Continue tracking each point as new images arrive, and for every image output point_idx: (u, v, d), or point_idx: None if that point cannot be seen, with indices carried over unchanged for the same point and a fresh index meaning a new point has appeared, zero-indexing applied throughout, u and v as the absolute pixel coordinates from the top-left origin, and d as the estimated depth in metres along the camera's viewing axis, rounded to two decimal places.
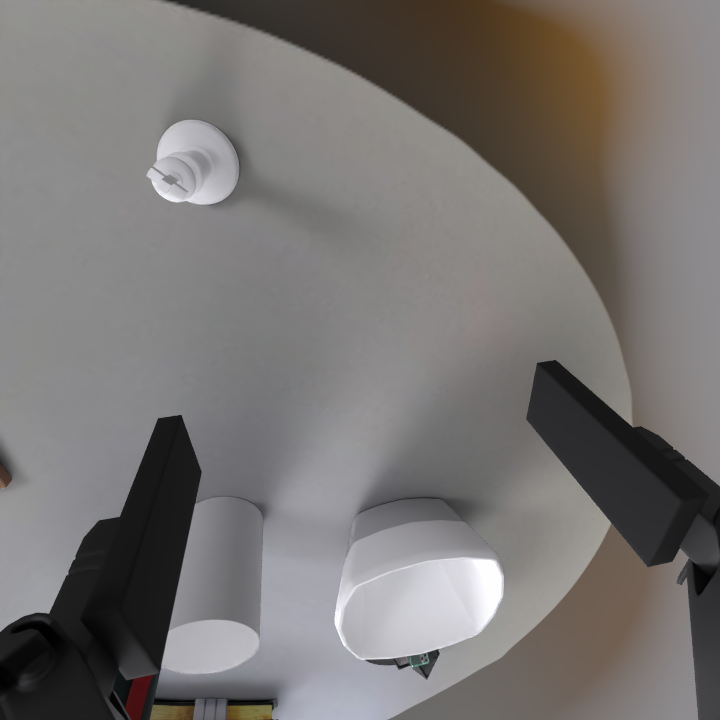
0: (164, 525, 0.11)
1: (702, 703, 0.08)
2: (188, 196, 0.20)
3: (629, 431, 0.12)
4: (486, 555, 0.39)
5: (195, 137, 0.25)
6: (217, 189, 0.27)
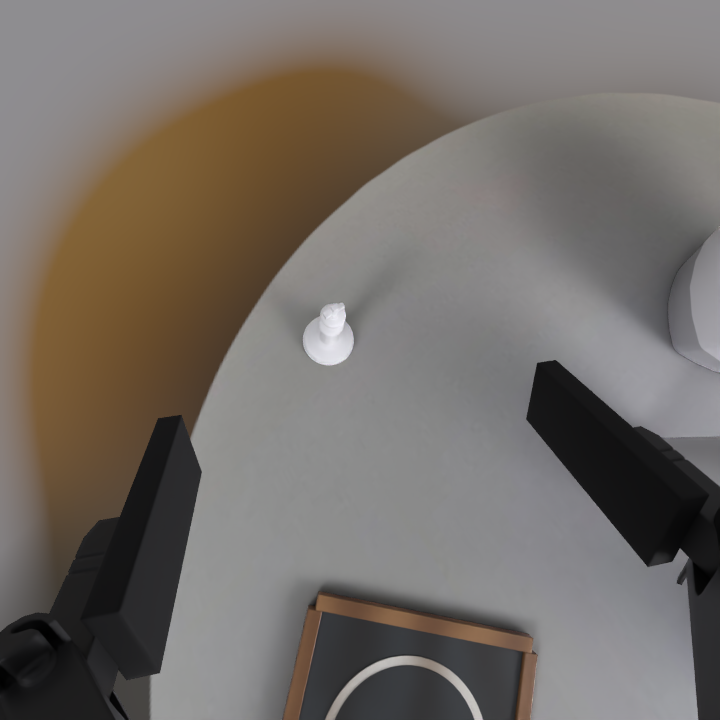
0: (164, 525, 0.11)
1: (702, 703, 0.08)
2: (344, 311, 0.32)
3: (629, 431, 0.12)
4: None
5: (313, 330, 0.39)
6: (346, 332, 0.39)
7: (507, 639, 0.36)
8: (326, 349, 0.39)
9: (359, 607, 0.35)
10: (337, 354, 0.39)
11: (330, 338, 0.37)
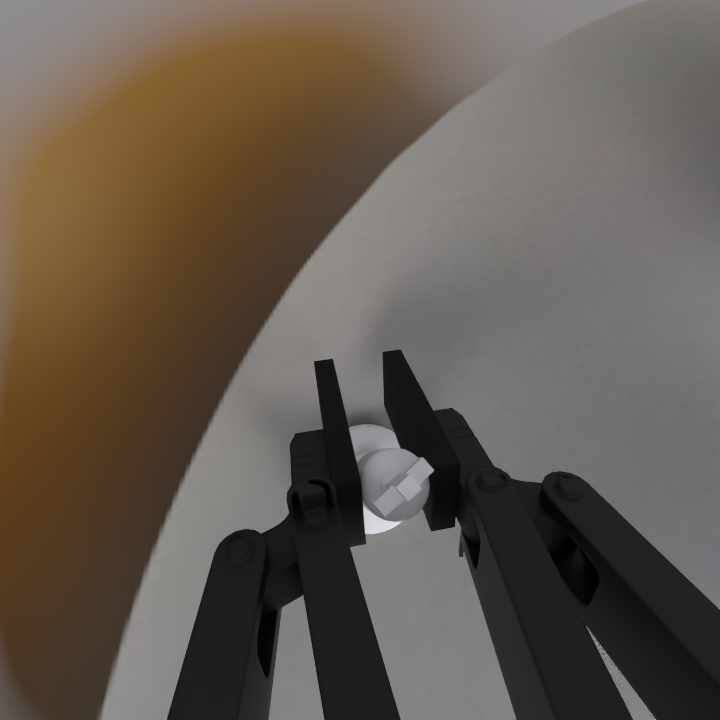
0: None
1: (506, 677, 0.09)
2: None
3: (426, 411, 0.13)
4: None
5: None
6: None
7: None
8: None
9: None
10: None
11: None
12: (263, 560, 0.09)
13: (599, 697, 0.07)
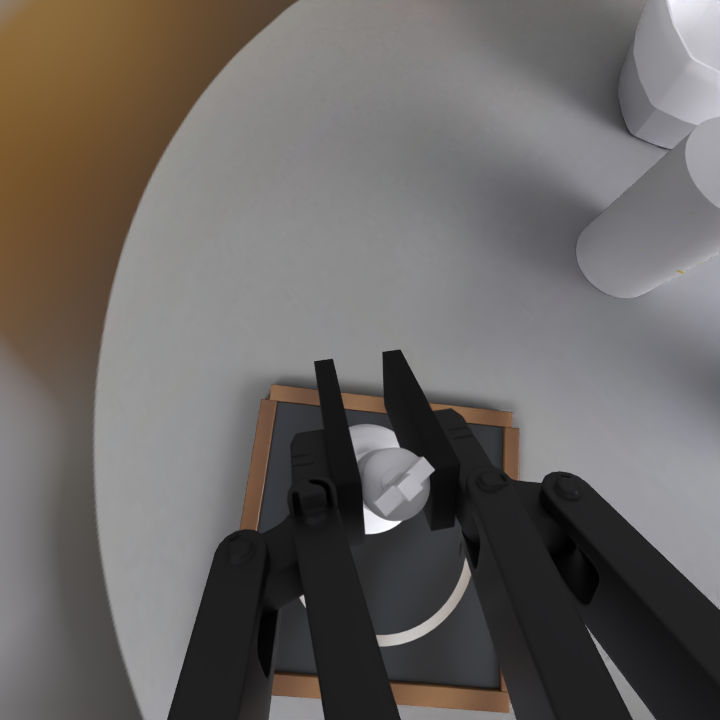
0: None
1: (506, 677, 0.09)
2: None
3: (426, 411, 0.13)
4: None
5: None
6: None
7: (483, 415, 0.33)
8: None
9: (317, 394, 0.32)
10: None
11: None
12: (263, 560, 0.09)
13: (599, 697, 0.07)
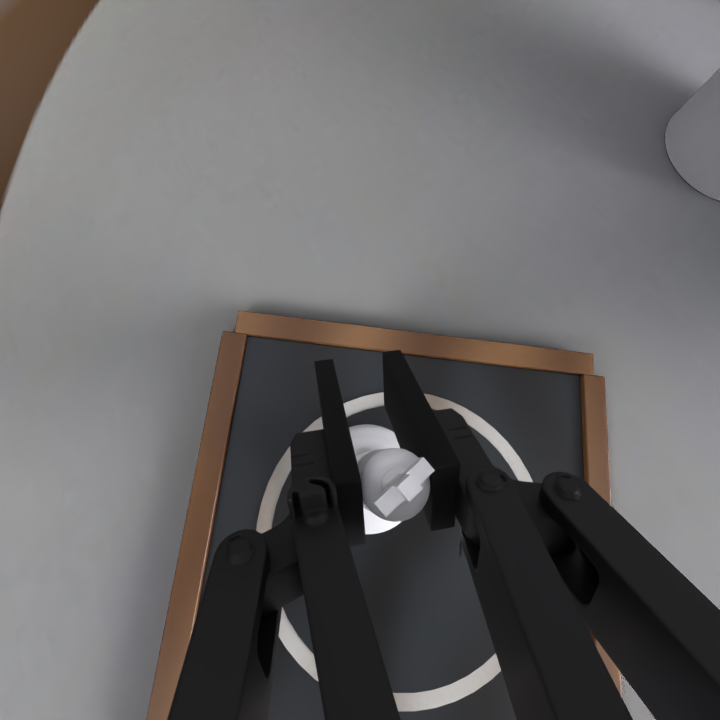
0: None
1: (506, 677, 0.09)
2: None
3: (426, 411, 0.13)
4: None
5: None
6: None
7: (551, 357, 0.22)
8: None
9: (306, 325, 0.22)
10: None
11: None
12: (263, 560, 0.09)
13: (599, 697, 0.07)
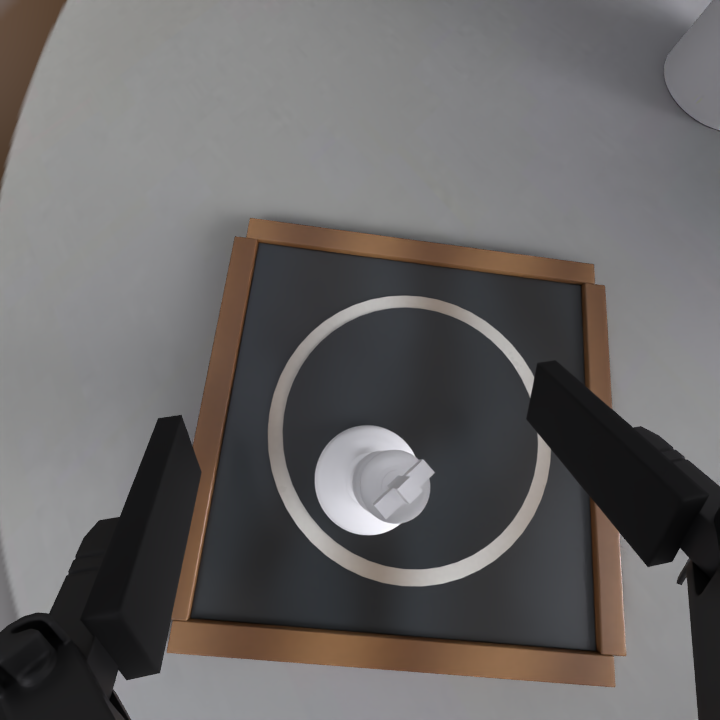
0: (164, 525, 0.11)
1: (702, 703, 0.08)
2: None
3: (629, 431, 0.12)
4: None
5: (336, 468, 0.18)
6: None
7: (554, 267, 0.23)
8: None
9: (316, 232, 0.22)
10: None
11: None
12: None
13: None
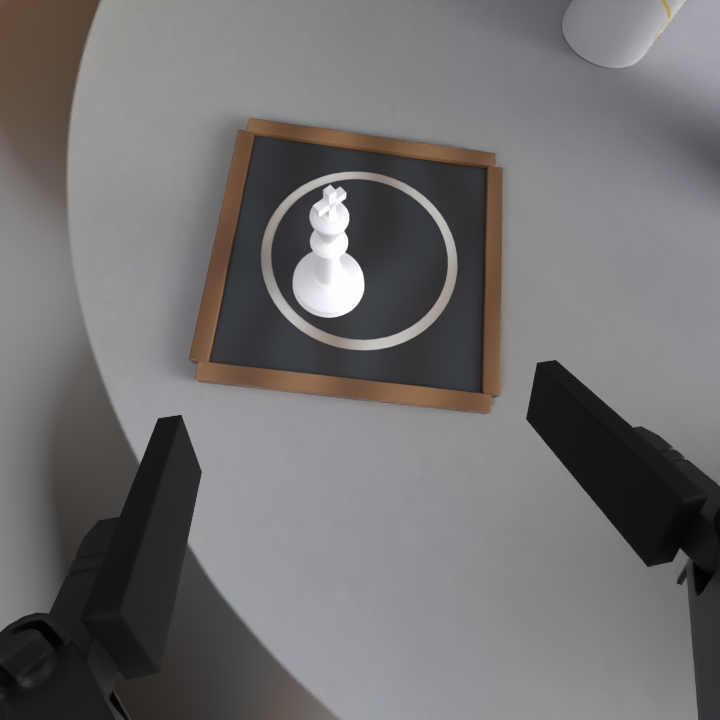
0: (164, 525, 0.11)
1: (702, 703, 0.08)
2: (345, 208, 0.21)
3: (629, 431, 0.12)
4: None
5: (306, 270, 0.28)
6: (352, 268, 0.28)
7: (466, 154, 0.32)
8: (327, 293, 0.27)
9: (295, 128, 0.31)
10: (343, 298, 0.27)
11: (330, 270, 0.25)
12: None
13: None
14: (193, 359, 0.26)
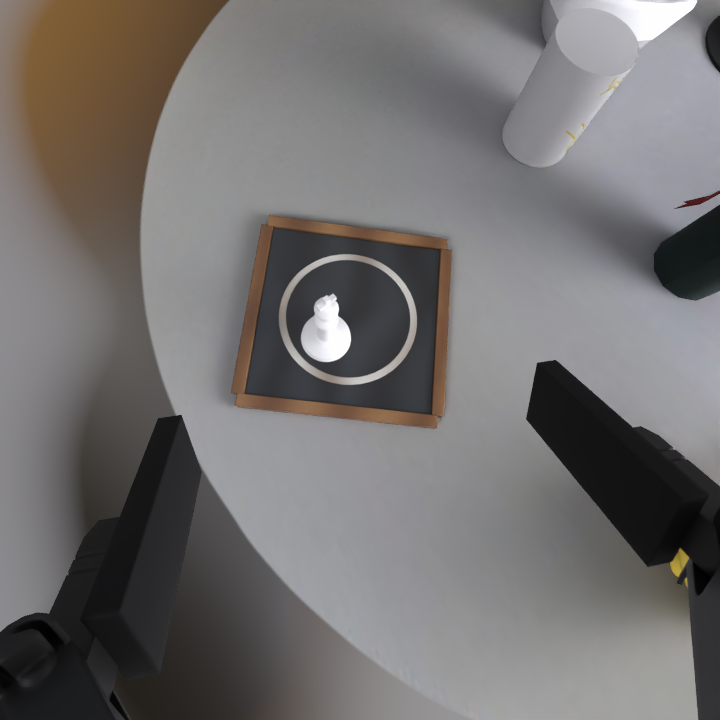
0: (164, 525, 0.11)
1: (702, 703, 0.08)
2: (336, 303, 0.33)
3: (629, 431, 0.12)
4: None
5: (310, 329, 0.40)
6: (342, 327, 0.40)
7: (425, 240, 0.44)
8: (325, 346, 0.39)
9: (302, 222, 0.44)
10: (336, 349, 0.40)
11: (327, 333, 0.38)
12: None
13: None
14: (234, 392, 0.39)
